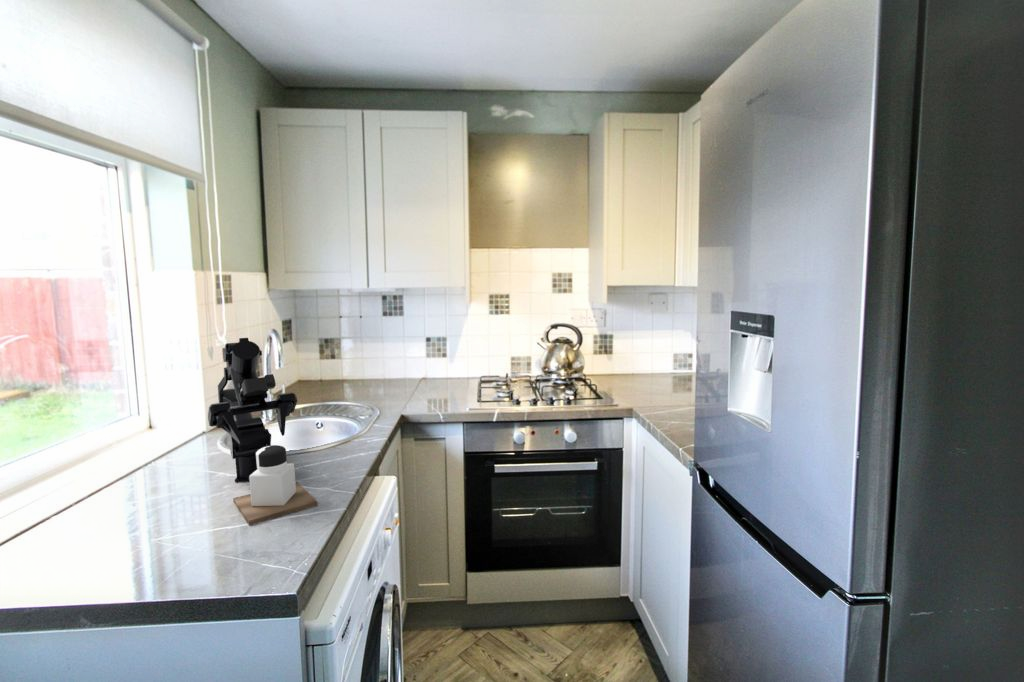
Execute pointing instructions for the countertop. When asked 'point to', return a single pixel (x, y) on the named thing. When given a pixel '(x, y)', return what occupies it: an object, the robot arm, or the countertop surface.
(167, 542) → the countertop surface
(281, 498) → the medicine bottle
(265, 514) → the walnut base
